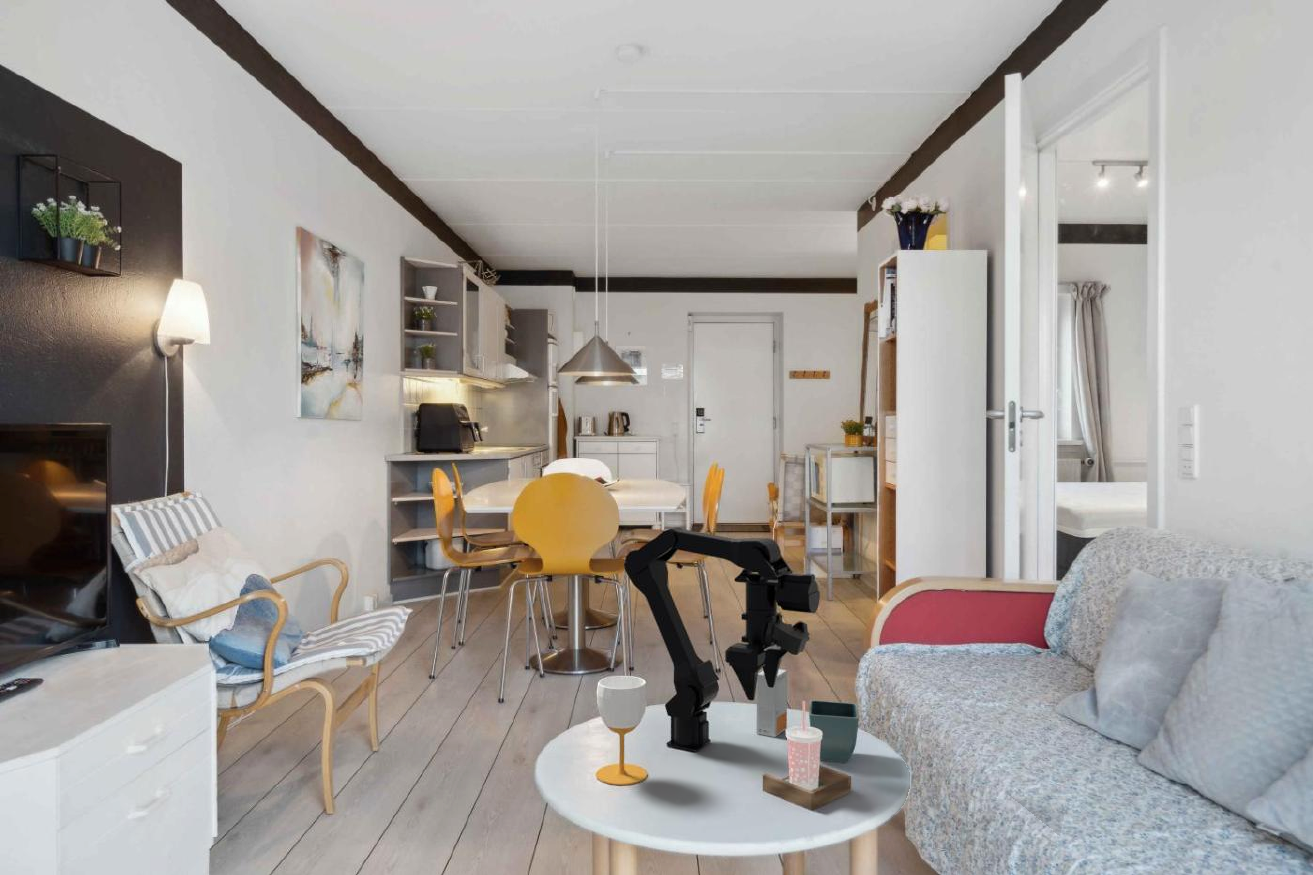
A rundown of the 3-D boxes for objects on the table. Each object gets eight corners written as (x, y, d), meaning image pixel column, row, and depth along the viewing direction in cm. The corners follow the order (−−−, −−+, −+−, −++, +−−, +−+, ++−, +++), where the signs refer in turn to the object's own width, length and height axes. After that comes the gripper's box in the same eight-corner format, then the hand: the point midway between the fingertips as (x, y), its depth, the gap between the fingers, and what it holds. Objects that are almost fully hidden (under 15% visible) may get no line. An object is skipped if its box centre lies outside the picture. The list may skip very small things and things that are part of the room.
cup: (623, 761, 147) (623, 672, 148) (658, 775, 141) (659, 682, 141) (584, 774, 141) (585, 681, 141) (619, 790, 135) (620, 692, 135)
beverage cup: (816, 778, 138) (816, 695, 139) (827, 792, 132) (827, 706, 132) (781, 779, 138) (781, 696, 138) (790, 794, 132) (790, 707, 132)
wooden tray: (762, 790, 135) (762, 774, 135) (802, 773, 142) (802, 758, 142) (811, 810, 127) (811, 793, 127) (851, 791, 134) (851, 776, 134)
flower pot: (859, 768, 144) (859, 717, 145) (808, 764, 146) (808, 714, 146) (857, 750, 153) (857, 702, 153) (809, 747, 155) (809, 699, 155)
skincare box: (775, 738, 160) (775, 676, 160) (755, 734, 162) (756, 673, 162) (787, 729, 165) (788, 669, 165) (768, 725, 167) (768, 666, 167)
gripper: (783, 621, 137) (783, 714, 136) (820, 603, 153) (820, 687, 153) (723, 614, 142) (723, 704, 142) (765, 598, 158) (765, 678, 158)
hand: (761, 693), depth 149 cm, fingers open, 9 cm apart
